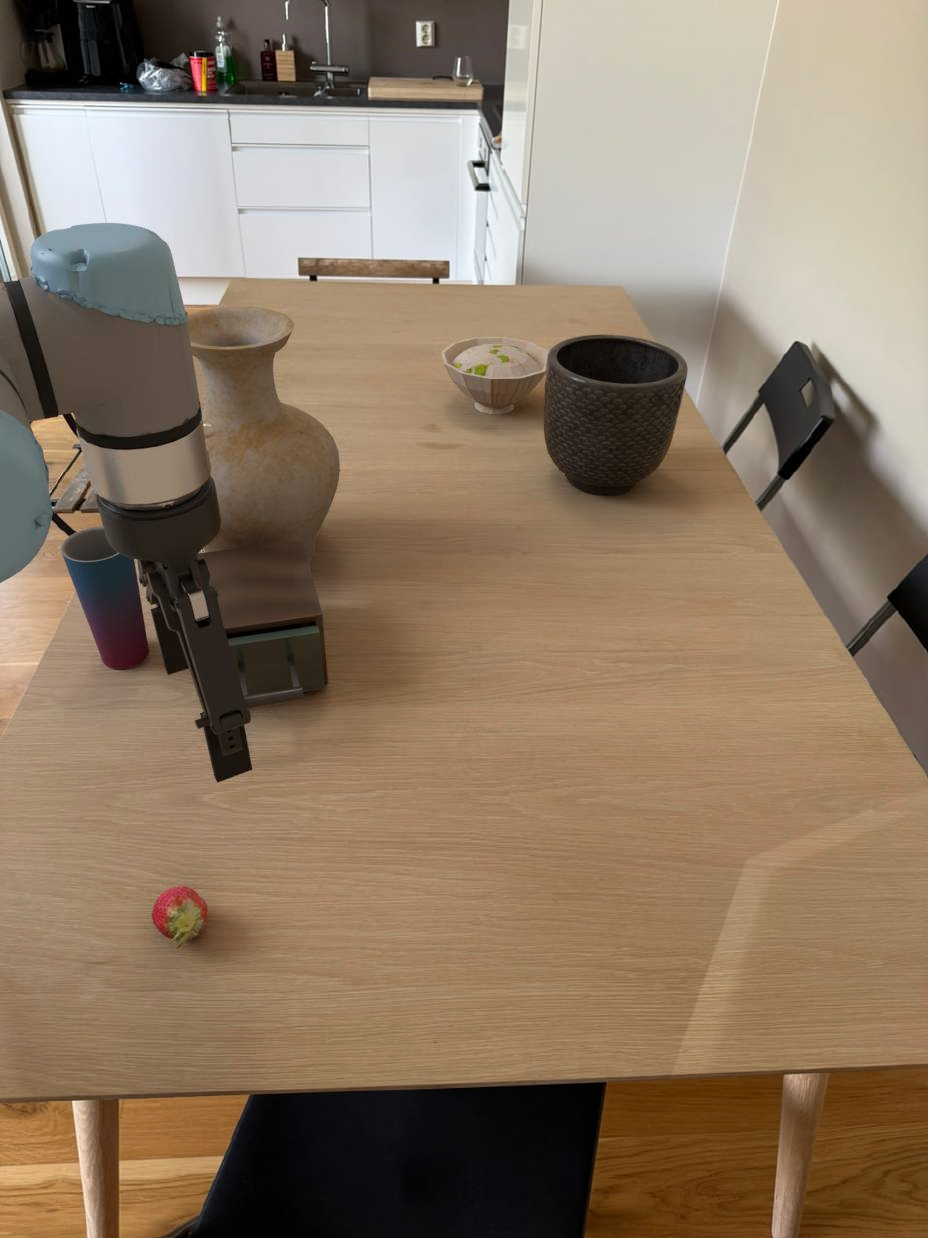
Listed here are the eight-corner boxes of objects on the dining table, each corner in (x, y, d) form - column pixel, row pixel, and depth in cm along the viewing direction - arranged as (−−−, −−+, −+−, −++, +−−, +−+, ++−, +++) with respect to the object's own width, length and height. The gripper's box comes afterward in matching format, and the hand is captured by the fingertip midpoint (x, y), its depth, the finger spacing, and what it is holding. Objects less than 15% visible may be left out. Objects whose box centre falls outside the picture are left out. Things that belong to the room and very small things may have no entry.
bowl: (431, 424, 150) (431, 367, 143) (448, 379, 165) (449, 326, 159) (545, 434, 148) (550, 377, 142) (552, 388, 163) (557, 334, 157)
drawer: (334, 728, 91) (329, 670, 86) (220, 748, 88) (208, 690, 84) (307, 614, 106) (301, 560, 101) (208, 628, 103) (198, 573, 98)
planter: (577, 523, 126) (592, 396, 114) (514, 461, 140) (522, 343, 128) (691, 497, 133) (717, 374, 121) (621, 441, 147) (638, 326, 135)
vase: (249, 493, 130) (221, 283, 111) (376, 535, 122) (368, 316, 103) (140, 566, 114) (86, 336, 96) (277, 619, 106) (246, 380, 88)
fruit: (198, 887, 77) (188, 851, 73) (219, 942, 72) (210, 906, 69) (148, 908, 75) (136, 871, 72) (167, 965, 71) (155, 929, 68)
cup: (131, 629, 104) (102, 519, 95) (170, 651, 101) (144, 540, 92) (81, 659, 100) (46, 546, 91) (120, 683, 97) (88, 569, 88)
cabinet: (328, 683, 98) (322, 614, 92) (210, 703, 95) (196, 632, 89) (309, 606, 109) (302, 539, 103) (203, 621, 106) (190, 553, 100)
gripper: (276, 562, 51) (309, 806, 64) (162, 400, 68) (206, 618, 81) (144, 599, 48) (206, 847, 61) (59, 419, 65) (122, 643, 78)
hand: (206, 717), depth 71 cm, fingers open, 13 cm apart
